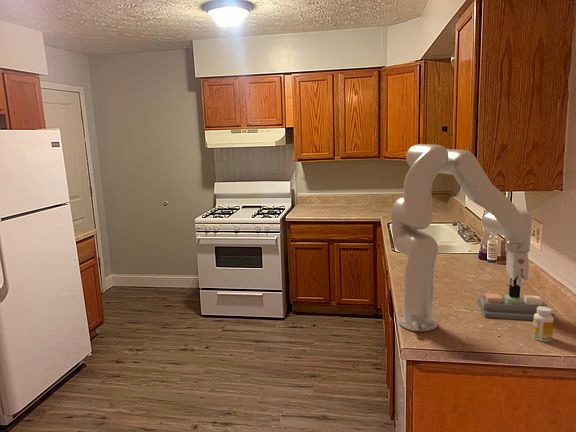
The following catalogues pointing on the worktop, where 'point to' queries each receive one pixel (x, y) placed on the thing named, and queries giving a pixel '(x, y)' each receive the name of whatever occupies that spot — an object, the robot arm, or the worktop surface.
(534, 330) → the supplement bottle
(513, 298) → the sage key
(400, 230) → the robot arm
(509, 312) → the console
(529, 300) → the cream key
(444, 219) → the worktop surface
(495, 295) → the terracotta key
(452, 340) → the worktop surface
